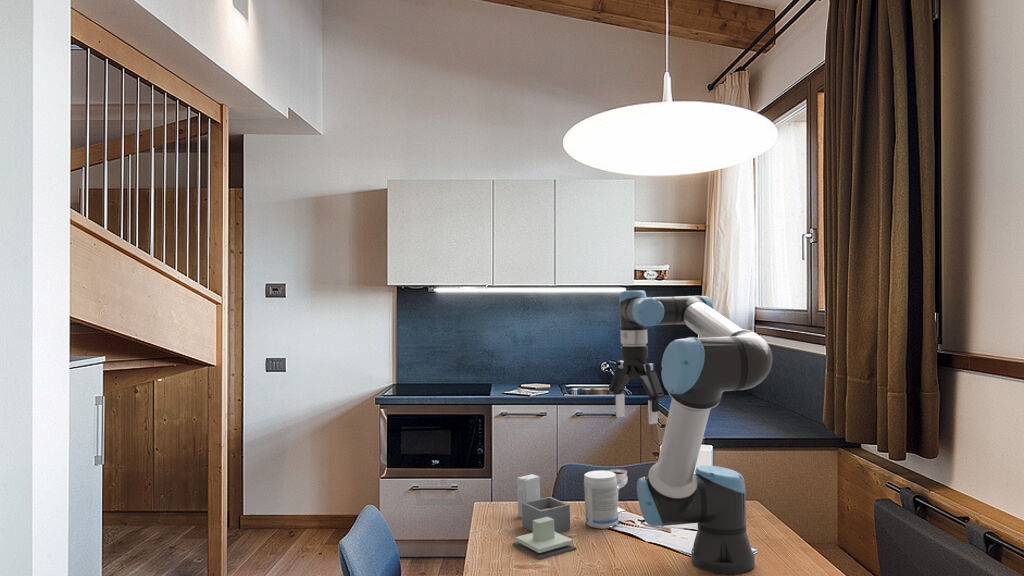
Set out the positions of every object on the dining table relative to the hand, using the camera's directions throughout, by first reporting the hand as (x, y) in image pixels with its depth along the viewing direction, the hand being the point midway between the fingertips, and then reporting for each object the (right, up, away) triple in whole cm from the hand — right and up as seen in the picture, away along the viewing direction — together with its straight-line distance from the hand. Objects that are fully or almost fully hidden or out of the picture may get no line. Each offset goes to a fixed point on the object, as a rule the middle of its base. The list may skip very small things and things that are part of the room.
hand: (636, 420), depth 195 cm
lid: (-26, -32, -9) cm, 43 cm away
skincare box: (-30, -33, +17) cm, 48 cm away
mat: (-26, -32, -9) cm, 43 cm away
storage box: (-25, -33, +6) cm, 42 cm away
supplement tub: (-9, -32, +8) cm, 34 cm away
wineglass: (-2, -32, +20) cm, 38 cm away
